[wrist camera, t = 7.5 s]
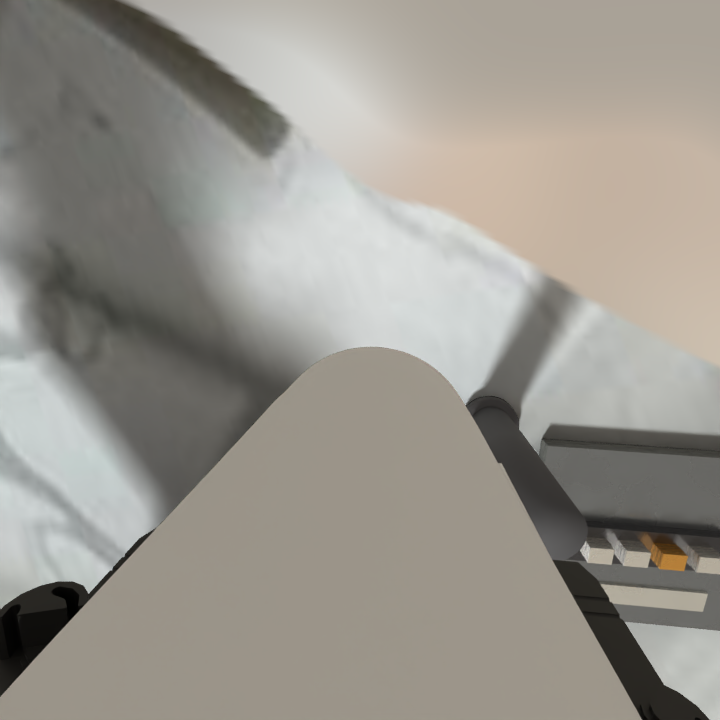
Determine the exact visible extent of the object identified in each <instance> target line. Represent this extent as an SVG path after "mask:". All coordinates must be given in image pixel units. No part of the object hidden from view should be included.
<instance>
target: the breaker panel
mask: <svg viewBox="0 0 720 720" xmlns="http://www.w3.org/2000/svg"><path fill="white" fill-rule="evenodd" d="M539 457H540V458H541V460H542V461H543V462H544V464H545V465H546V467H547V468H548V469H549V471H550V472H551V473H552V475H553V476H554V477H555V479H556V480H557V481H558V483H559V484H560V485H561V487H562V488H563V490H564V491H565V492H566V494H567V495H568V496H569V498H570V499H571V500H572V502H573V503H574V504H575V506H576V507H577V508H578V510H579V511H580V513H581V514H582V515H583V517H584V518H585V520H586V523H587V528H588V533H587V538H586V541H585V543H584V545H583V547H582V548H581V549H580V550H579V551H578V552H577V553H576V554H575V555H573V556H572V557H570V558H568V559H566V560H563V561H573V562H578V563H580V564H581V565H582V566H583V567H584V568H585V569H586V570H587V571H589V572H590V573H591V574H592V575H593V576H594V577H595V578H597V580H598V581H599V583H600V584H601V586H602V588H603V589H604V591H605V592H606V594H607V595H608V597H609V601H610V602H612V603H613V605H614V607H615V608H616V610H617V611H618V613H619V614H620V619H623V621H624V622H635V623H645V624H656V625H666V626H677V627H687V628H698V629H708V630H718V631H720V451H708V450H694V449H679V448H665V447H651V446H636V445H622V444H608V443H593V442H579V441H565V440H550V439H542V441H541V448H540V454H539Z"/></svg>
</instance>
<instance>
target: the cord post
mask: <svg viewBox="0 0 720 720" xmlns="http://www.w3.org/2000/svg"><path fill="white" fill-rule="evenodd" d="M466 407H467V409H468V411H469V412H470V414H471V416H472V417H473V419H474V421H475V422H476V424H477V426H478V428H479V429H480V431H481V433H482V435H483V437H484V438H485V440H486V442H487V444H488V446H489V448H490V449H491V451H492V453H493V455H494V457H495V459H496V460H497V462H498V463H502V465H503V467H504V469H505V471H506V473H507V475H508V477H509V478H510V480H511V482H512V484H513V486H514V488H515V490H516V492H517V494H518V496H519V498H520V500H521V501H522V503H523V505H524V507H525V509H526V511H527V513H528V515H529V517H530V519H531V521H532V522H533V524H534V526H535V528H536V530H537V532H538V534H539V536H540V538H541V540H542V542H543V544H544V545H545V547H546V549H547V551H548V553H549V555H550V557H551V559H552V560H562V561H563V560H566V559H568V558H570V557H572V556H573V555H575V554H576V553H577V552H578V551H579V550H580V549H581V548H582V547H583V545H584V543H585V541H586V538H587V533H588V528H587V523H586V520H585V518H584V517H583V515H582V514H581V513H580V511H579V510H578V508H577V507H576V506H575V504H574V503H573V502H572V500H571V499H570V498H569V496H568V495H567V494H566V492H565V491H564V490H563V488H562V487H561V485H560V484H559V483H558V481H557V480H556V479H555V477H554V476H553V475H552V473H551V472H550V471H549V469H548V468H547V467H546V465H545V464H544V462H543V461H542V460H541V458H540V457H539V456H538V454H537V453H536V452H535V450H534V449H533V448H532V446H531V445H530V444H529V442H528V441H527V439H526V438H525V437H524V435H523V434H522V433H521V431H520V430H519V420H518V417H517V414H516V413H515V411H514V410H513V408H512V407H511V406H510V405H509V404H508V403H507V402H506V401H504V400H502V399H500V398H498V397H493V396H485V397H480V398H477V399H475V400H473V401H472V402H470V403H469V404H468V405H467V406H466Z"/></svg>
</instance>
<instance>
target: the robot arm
mask: <svg viewBox="0 0 720 720" xmlns="http://www.w3.org/2000/svg"><path fill="white" fill-rule="evenodd" d="M498 464H499V466H500V468H501V470H502V471H503V473H504V475H505V477H506V479H507V480H508V482H509V484H510V486H511V488H512V489H513V491H514V493H515V495H516V496H517V498H518V500H519V502H520V504H521V505H522V507H523V509H524V511H525V513H526V514H527V516H528V518H529V520H530V521H531V519H530V517H529V515H528V513H527V511H526V509H525V507H524V505H523V503H522V501H521V500H520V498H519V496H518V494H517V492H516V490H515V488H514V486H513V484H512V482H511V480H510V478H509V477H508V475H507V473H506V471H505V469H504V467H503V465H502V463H498ZM531 523H532V525H533V527H534V529H535V530H536V528H535V526H534V524H533V522H532V521H531ZM155 529H156V528H155ZM155 529H154V530H155ZM154 530H152V531H151V532H149V533H147V534H146V535H144V536H143V537H141V538H139V539H138V541H137V542H136V543H135V544H134V545H133V546H132V547H131V548H130V549H129V550H128V552H127V553H126V554H125V557H122V558H121V559H120V560H119V561H118V563H117V564H116V565H115V566H114V567H113V570H112V571H109V572H108V574H107V575H106V576H105V577H104V578H103V579H102V580H101V581H100V582H99V583H98V585H97V586H96V587H95V588H94V589H93V590H92V591H91V592H90V593H89V594H88V592H87V591H86V589H85V587H84V586H83V585H80V584H78V583H75V582H54V583H50V584H46V585H42V586H39V587H37V588H34V589H32V590H30V591H27V592H25V593H23V594H21V595H19V596H18V597H16V598H15V599H14V600H12V601H11V602H9V603H8V604H6V605H5V606H4V607H3V608H2V609H0V697H1V696H2V694H3V693H4V692H5V691H6V690H7V689H8V688H9V687H10V686H11V685H12V683H13V682H14V681H15V680H16V679H17V678H18V677H19V676H20V675H21V674H22V672H23V671H24V670H25V669H26V668H27V667H28V666H29V665H30V664H31V663H32V661H33V660H34V659H35V658H36V657H37V656H38V655H39V654H40V653H41V652H42V651H43V649H44V648H45V647H46V646H47V645H48V644H49V643H50V642H51V641H52V640H53V639H54V638H55V636H56V635H57V634H58V633H59V632H60V631H61V630H62V629H63V628H64V627H65V626H66V625H67V624H68V622H69V621H70V620H71V619H72V618H73V617H74V616H75V615H76V614H77V613H78V612H79V611H80V610H81V608H82V607H83V606H84V605H85V604H86V603H87V602H88V601H89V600H90V599H91V598H92V597H93V596H94V595H95V593H96V592H97V591H98V590H99V589H100V588H101V587H102V586H103V585H104V584H105V583H106V582H107V581H108V580H109V579H110V577H111V576H112V575H113V574H114V573H115V572H116V571H117V570H118V569H119V568H120V567H121V566H122V565H123V564H124V562H125V561H126V560H127V559H128V558H129V557H130V556H131V555H132V554H133V553H134V552H135V551H136V550H137V549H138V548H139V546H140V545H141V544H142V543H143V542H144V541H145V540H146V539H147V538H148V537H149V536H150V535H151V534H152V533H153V532H154ZM536 532H537V530H536ZM537 534H538V532H537ZM538 536H539V534H538ZM539 537H540V536H539ZM540 539H541V538H540ZM541 541H542V540H541ZM542 543H543V542H542ZM543 545H544V544H543ZM544 546H545V545H544ZM545 548H546V547H545ZM546 550H547V549H546ZM547 552H548V551H547ZM552 561H553V562H554V564H555V566H556V568H557V569H558V571H559V573H560V575H561V577H562V578H563V580H564V582H565V584H566V585H567V587H568V589H569V591H570V593H571V594H572V596H573V598H574V600H575V601H576V603H577V605H578V607H579V609H580V610H581V612H582V614H583V616H584V617H585V619H586V621H587V623H588V625H589V626H590V628H591V630H592V632H593V633H594V635H595V637H596V639H597V641H598V642H599V644H600V646H601V648H602V649H603V651H604V653H605V655H606V657H607V658H608V660H609V662H610V664H611V665H612V667H613V669H614V671H615V673H616V674H617V676H618V678H619V680H620V681H621V683H622V685H623V687H624V689H625V690H626V692H627V694H628V696H629V697H630V699H631V701H632V703H633V705H634V706H635V708H636V710H637V712H638V713H639V715H640V717H641V719H642V720H709V719H708V718H707V716H706V715H705V714H704V713H703V712H702V711H701V710H700V709H699V708H698V707H697V706H696V705H695V704H693V703H692V702H691V701H689V700H688V699H687V698H685V697H684V696H683V695H681V694H680V693H679V692H677V691H675V690H673V689H671V688H669V687H666V686H665V685H664V684H663V682H662V681H661V679H660V678H659V676H658V675H657V673H656V671H655V670H654V668H653V667H652V665H651V663H650V662H649V660H648V659H647V657H646V656H645V654H644V652H643V651H642V649H641V648H640V646H639V644H638V643H637V641H636V640H635V638H634V637H633V635H632V633H631V632H630V630H629V629H628V627H627V626H626V624H625V622H624V621H623V619H620V614H619V613H618V611H617V610H616V608H615V607H614V605H613V603H612V602H610V601H609V597H608V595H607V594H606V592H605V591H604V589H603V588H602V586H601V584H600V583H599V581H598V580H597V578H595V577H594V576H593V575H592V574H591V573H590V572H589V571H587V570H586V569H585V568H584V567H583V566H582V565H581V564H580V563H578V562H573V561H562V560H552Z"/></svg>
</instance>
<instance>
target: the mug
mask: <svg viewBox="0 0 720 720" xmlns="http://www.w3.org/2000/svg"><path fill="white" fill-rule="evenodd" d="M0 720H642V719H641V717H640V715H639V713H638V712H637V710H636V708H635V706H634V705H633V703H632V701H631V699H630V697H629V696H628V694H627V692H626V690H625V689H624V687H623V685H622V683H621V681H620V680H619V678H618V676H617V674H616V673H615V671H614V669H613V667H612V665H611V664H610V662H609V660H608V658H607V657H606V655H605V653H604V651H603V649H602V648H601V646H600V644H599V642H598V641H597V639H596V637H595V635H594V633H593V632H592V630H591V628H590V626H589V625H588V623H587V621H586V619H585V617H584V616H583V614H582V612H581V610H580V609H579V607H578V605H577V603H576V601H575V600H574V598H573V596H572V594H571V593H570V591H569V589H568V587H567V585H566V584H565V582H564V580H563V578H562V577H561V575H560V573H559V571H558V569H557V568H556V566H555V564H554V562H553V561H552V559H551V557H550V555H549V553H548V552H547V550H546V548H545V546H544V545H543V543H542V541H541V539H540V537H539V536H538V534H537V532H536V530H535V529H534V527H533V525H532V523H531V521H530V520H529V518H528V516H527V514H526V513H525V511H524V509H523V507H522V505H521V504H520V502H519V500H518V498H517V496H516V495H515V493H514V491H513V489H512V488H511V486H510V484H509V482H508V480H507V479H506V477H505V475H504V473H503V471H502V470H501V468H500V466H499V464H498V462H497V460H496V459H495V457H494V455H493V453H492V451H491V449H490V448H489V446H488V444H487V442H486V440H485V438H484V437H483V435H482V433H481V431H480V429H479V428H478V426H477V424H476V422H475V421H474V419H473V417H472V416H471V414H470V412H469V411H468V409H467V407H466V406H465V404H464V403H463V401H462V399H461V398H460V396H459V395H458V393H457V392H456V390H455V389H454V388H453V386H452V385H451V384H450V383H449V381H448V380H447V379H446V378H445V377H444V376H443V375H442V374H441V373H440V372H438V371H437V370H436V369H435V368H433V367H432V366H431V365H429V364H428V363H426V362H424V361H423V360H421V359H419V358H417V357H415V356H413V355H410V354H408V353H405V352H402V351H398V350H394V349H389V348H382V347H360V348H353V349H348V350H344V351H340V352H337V353H335V354H332V355H330V356H327V357H325V358H323V359H322V360H320V361H318V362H317V363H315V364H314V365H312V366H311V367H310V368H308V369H307V370H306V371H305V372H304V373H302V374H301V375H300V376H299V377H298V378H297V380H296V381H295V382H294V383H293V384H292V385H291V386H290V387H289V388H288V389H287V390H286V391H285V392H284V393H283V394H282V395H280V396H279V397H278V398H277V399H276V400H275V401H274V402H273V403H272V404H271V406H270V407H269V408H268V409H267V410H266V411H265V412H264V413H263V414H262V415H261V417H260V418H259V419H258V420H257V421H256V422H255V423H254V424H253V425H252V426H251V427H250V429H249V430H248V431H247V432H246V433H245V434H244V435H243V436H242V437H241V438H240V439H239V440H238V442H237V443H236V444H235V445H234V446H233V447H232V448H231V449H230V450H229V451H228V452H227V453H226V454H225V456H224V457H223V458H222V459H221V460H220V461H219V462H218V463H217V464H216V465H215V466H214V467H213V468H212V469H211V471H210V472H209V473H208V474H207V475H206V476H205V477H204V478H203V479H202V480H201V481H200V482H199V483H198V484H197V486H196V487H195V488H194V489H193V490H192V491H191V492H190V493H189V494H188V495H187V496H186V497H185V498H184V499H183V500H182V502H181V503H180V504H179V505H178V506H177V507H176V508H175V509H174V510H173V511H172V512H171V513H170V514H169V515H168V517H167V518H166V519H165V520H164V521H163V522H162V523H161V524H160V525H159V526H158V527H157V528H156V529H155V530H154V532H153V533H152V534H151V535H150V536H149V537H148V538H147V539H146V540H145V541H144V542H143V543H142V544H141V545H140V546H139V548H138V549H137V550H136V551H135V552H134V553H133V554H132V555H131V556H130V557H129V558H128V559H127V560H126V561H125V562H124V564H123V565H122V566H121V567H120V568H119V569H118V570H117V571H116V572H115V573H114V574H113V575H112V576H111V577H110V579H109V580H108V581H107V582H106V583H105V584H104V585H103V586H102V587H101V588H100V589H99V590H98V591H97V592H96V593H95V595H94V596H93V597H92V598H91V599H90V600H89V601H88V602H87V603H86V604H85V605H84V606H83V607H82V608H81V610H80V611H79V612H78V613H77V614H76V615H75V616H74V617H73V618H72V619H71V620H70V621H69V622H68V624H67V625H66V626H65V627H64V628H63V629H62V630H61V631H60V632H59V633H58V634H57V635H56V636H55V638H54V639H53V640H52V641H51V642H50V643H49V644H48V645H47V646H46V647H45V648H44V649H43V651H42V652H41V653H40V654H39V655H38V656H37V657H36V658H35V659H34V660H33V661H32V663H31V664H30V665H29V666H28V667H27V668H26V669H25V670H24V671H23V672H22V674H21V675H20V676H19V677H18V678H17V679H16V680H15V681H14V682H13V683H12V685H11V686H10V687H9V688H8V689H7V690H6V691H5V692H4V693H3V694H2V696H1V697H0Z"/></svg>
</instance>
